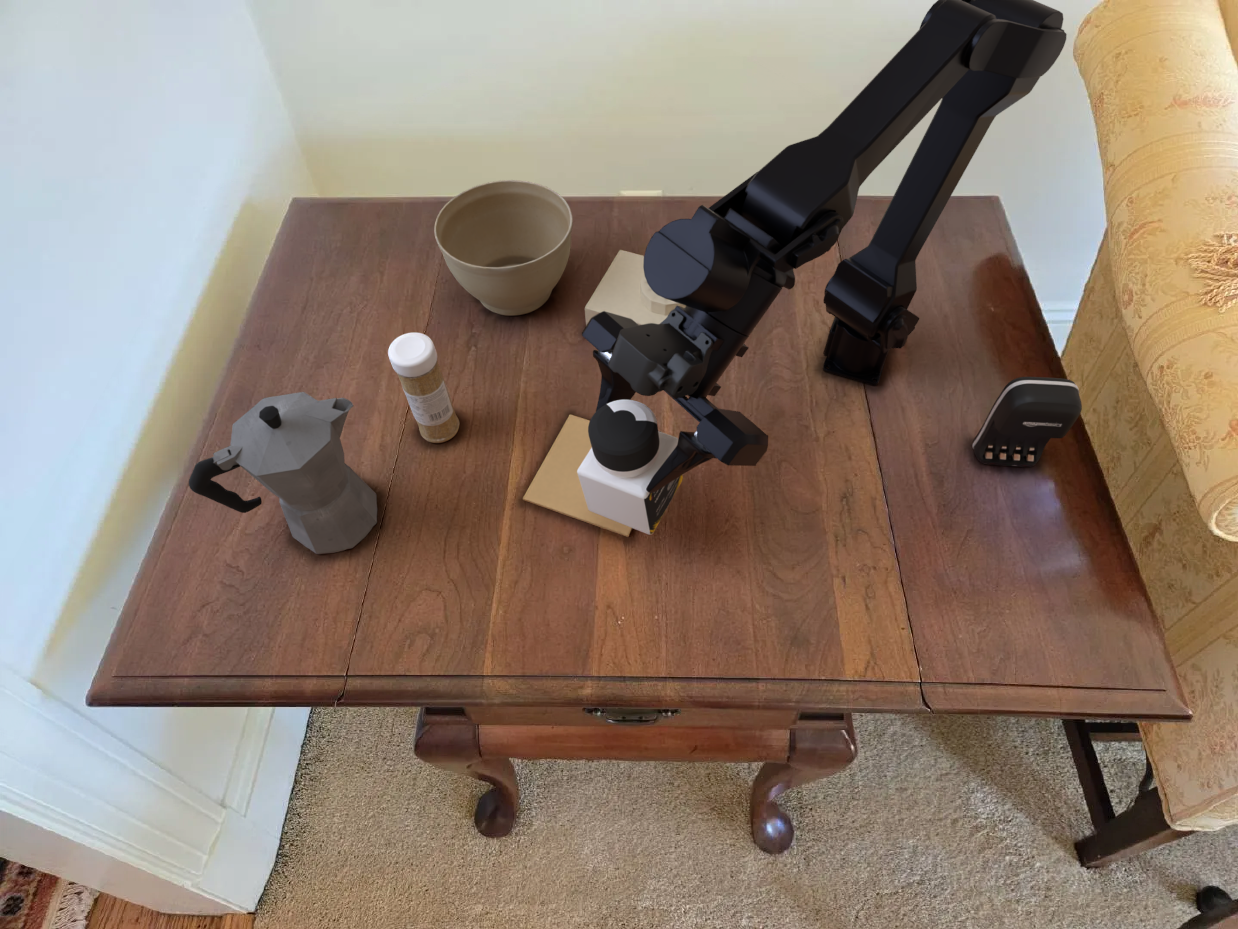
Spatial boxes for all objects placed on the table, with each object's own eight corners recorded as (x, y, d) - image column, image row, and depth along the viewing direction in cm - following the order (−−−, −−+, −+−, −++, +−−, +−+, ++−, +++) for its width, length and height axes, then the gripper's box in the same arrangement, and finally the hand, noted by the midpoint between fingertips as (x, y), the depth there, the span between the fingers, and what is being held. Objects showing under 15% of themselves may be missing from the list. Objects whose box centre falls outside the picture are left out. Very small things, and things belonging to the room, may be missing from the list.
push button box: (715, 300, 98) (719, 263, 93) (686, 361, 92) (688, 326, 87) (620, 274, 101) (619, 237, 96) (586, 332, 95) (583, 296, 90)
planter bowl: (603, 293, 99) (600, 224, 90) (500, 356, 93) (485, 289, 84) (529, 231, 106) (518, 161, 97) (428, 286, 100) (408, 217, 91)
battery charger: (973, 470, 83) (1016, 404, 73) (968, 441, 85) (1009, 373, 75) (1041, 475, 82) (1093, 408, 73) (1034, 446, 84) (1084, 377, 75)
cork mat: (669, 448, 85) (669, 445, 85) (628, 537, 79) (628, 535, 79) (570, 416, 88) (569, 414, 88) (523, 500, 82) (522, 498, 82)
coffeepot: (376, 457, 86) (320, 345, 71) (412, 518, 81) (360, 412, 66) (240, 525, 81) (149, 421, 66) (270, 594, 77) (179, 499, 62)
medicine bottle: (652, 537, 73) (639, 467, 64) (587, 511, 76) (565, 439, 66) (684, 479, 77) (677, 403, 67) (620, 456, 79) (604, 379, 69)
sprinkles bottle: (454, 408, 89) (428, 325, 78) (464, 438, 87) (437, 357, 76) (415, 419, 88) (383, 337, 77) (424, 450, 86) (391, 370, 75)
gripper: (592, 235, 62) (500, 394, 67) (760, 372, 53) (639, 540, 59) (665, 266, 71) (578, 403, 76) (818, 386, 62) (709, 530, 68)
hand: (621, 463), depth 70 cm, fingers closed on medicine bottle, 7 cm apart
